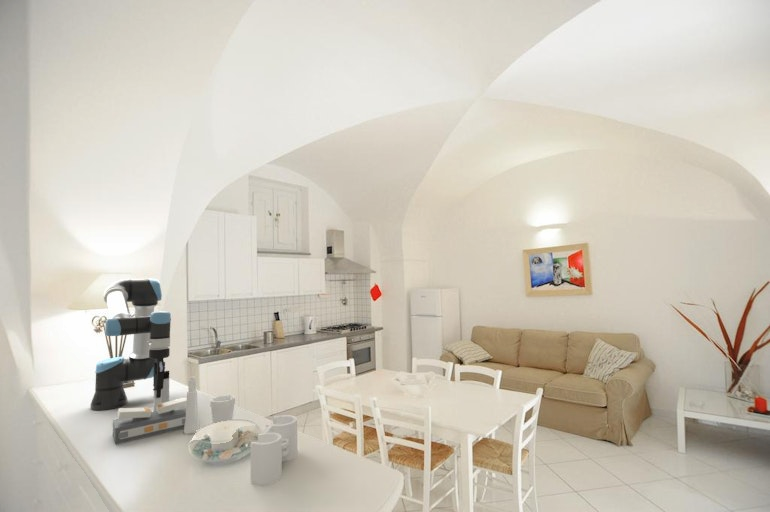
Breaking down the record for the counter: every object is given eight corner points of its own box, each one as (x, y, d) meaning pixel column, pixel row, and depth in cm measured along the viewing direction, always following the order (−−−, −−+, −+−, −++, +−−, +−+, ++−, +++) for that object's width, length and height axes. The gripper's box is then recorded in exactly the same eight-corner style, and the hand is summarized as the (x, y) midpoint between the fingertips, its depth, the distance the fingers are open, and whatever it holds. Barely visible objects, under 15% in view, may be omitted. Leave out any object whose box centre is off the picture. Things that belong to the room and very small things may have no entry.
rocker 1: (117, 414, 153) (118, 407, 154) (148, 413, 160) (149, 406, 161) (118, 418, 149) (120, 411, 149) (150, 417, 156) (151, 410, 156)
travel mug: (162, 417, 174) (163, 373, 175) (150, 416, 175) (150, 372, 177) (172, 412, 180) (173, 369, 181) (160, 411, 181) (161, 369, 183)
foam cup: (210, 436, 151) (210, 403, 151) (209, 428, 159) (209, 397, 160) (236, 431, 155) (236, 399, 156) (233, 424, 163) (233, 393, 164)
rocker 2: (156, 410, 162) (155, 404, 162) (184, 402, 169) (184, 396, 169) (158, 414, 157) (158, 407, 157) (187, 405, 164) (187, 399, 164)
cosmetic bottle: (203, 429, 158) (203, 376, 159) (189, 435, 153) (190, 379, 154) (193, 427, 161) (194, 374, 162) (180, 432, 156) (180, 378, 157)
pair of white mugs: (278, 485, 114) (278, 444, 114) (246, 485, 114) (246, 444, 115) (300, 448, 138) (300, 414, 139) (274, 448, 139) (274, 414, 140)
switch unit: (112, 434, 155) (113, 416, 155) (185, 418, 172) (186, 402, 172) (115, 444, 145) (115, 425, 145) (192, 426, 162) (192, 409, 162)
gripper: (147, 347, 164) (144, 403, 163) (151, 351, 154) (149, 410, 152) (166, 345, 169) (164, 399, 167) (172, 349, 159) (170, 406, 157)
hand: (157, 405), depth 160 cm, fingers closed
